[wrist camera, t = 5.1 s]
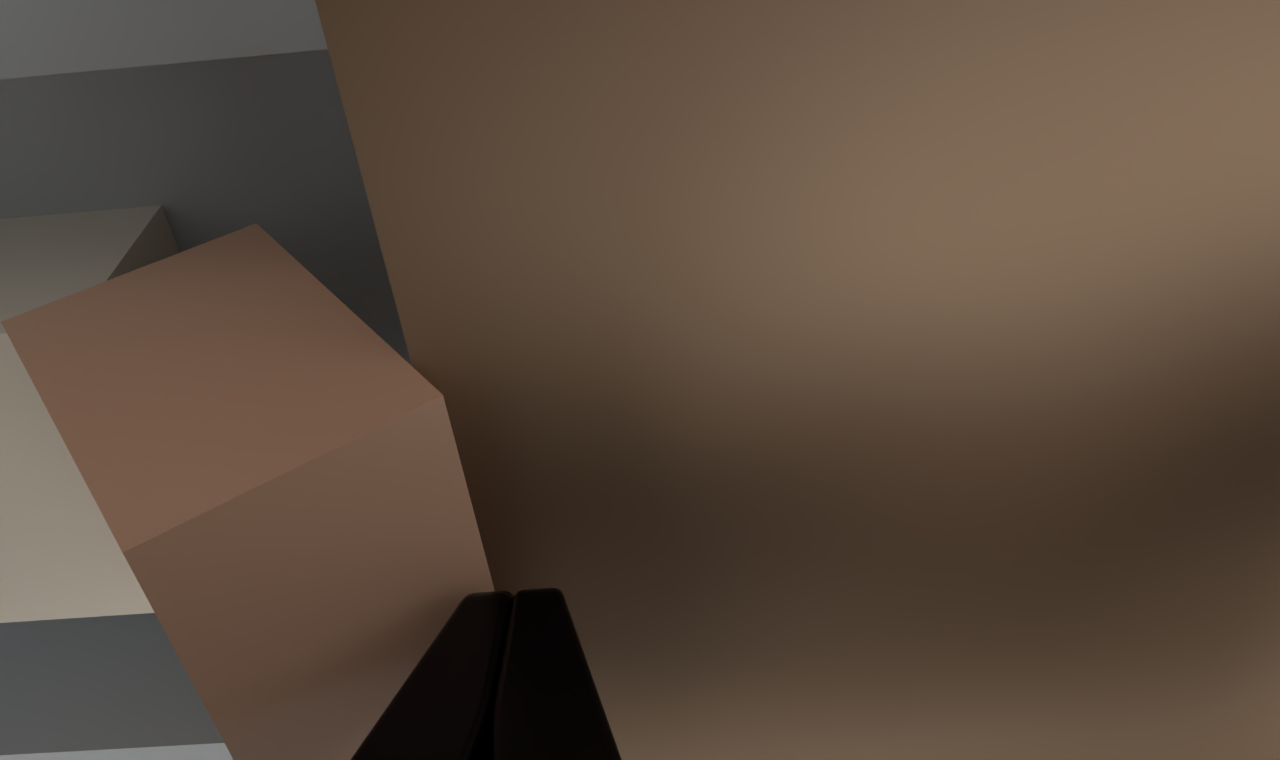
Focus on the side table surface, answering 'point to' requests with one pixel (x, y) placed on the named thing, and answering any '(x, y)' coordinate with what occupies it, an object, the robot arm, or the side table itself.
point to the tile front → (263, 485)
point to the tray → (197, 213)
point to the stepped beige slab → (856, 356)
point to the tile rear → (29, 440)
